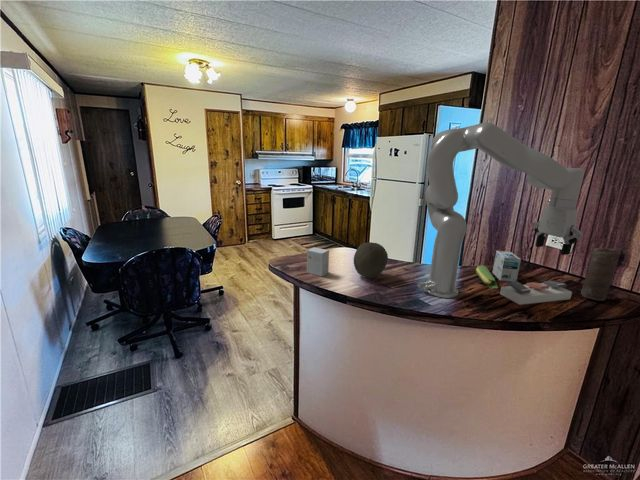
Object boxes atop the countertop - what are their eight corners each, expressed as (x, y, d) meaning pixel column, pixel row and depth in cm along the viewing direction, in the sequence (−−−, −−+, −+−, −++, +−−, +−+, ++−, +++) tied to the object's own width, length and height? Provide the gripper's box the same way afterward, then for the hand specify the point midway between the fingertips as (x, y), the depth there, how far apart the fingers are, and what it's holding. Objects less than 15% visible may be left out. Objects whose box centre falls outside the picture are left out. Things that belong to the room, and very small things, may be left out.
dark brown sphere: (383, 285, 124) (386, 250, 120) (349, 279, 128) (351, 245, 124) (387, 273, 137) (390, 241, 133) (356, 268, 141) (358, 237, 137)
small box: (328, 273, 135) (329, 250, 132) (321, 277, 131) (322, 253, 128) (313, 269, 139) (314, 246, 137) (306, 272, 135) (306, 249, 132)
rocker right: (558, 287, 116) (558, 284, 116) (543, 284, 122) (543, 281, 122) (566, 286, 117) (566, 284, 117) (551, 283, 123) (551, 280, 123)
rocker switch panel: (519, 304, 112) (521, 295, 111) (499, 293, 120) (501, 285, 119) (570, 299, 117) (572, 290, 116) (548, 289, 126) (550, 281, 125)
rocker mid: (540, 289, 114) (540, 286, 114) (526, 285, 120) (526, 282, 120) (548, 288, 115) (549, 285, 115) (534, 284, 121) (534, 282, 121)
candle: (607, 305, 113) (623, 253, 108) (581, 300, 117) (596, 249, 112) (602, 297, 120) (617, 248, 114) (578, 293, 123) (591, 245, 118)
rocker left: (521, 293, 112) (522, 291, 112) (508, 284, 118) (509, 282, 117) (529, 292, 113) (530, 290, 113) (516, 283, 119) (517, 281, 118)
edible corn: (487, 264, 140) (477, 261, 141) (502, 283, 121) (490, 278, 122) (481, 274, 142) (471, 270, 142) (495, 294, 123) (484, 289, 124)
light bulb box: (516, 282, 132) (522, 258, 129) (499, 281, 133) (504, 257, 130) (507, 273, 142) (512, 251, 139) (491, 272, 143) (495, 250, 140)
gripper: (531, 200, 115) (522, 244, 120) (580, 208, 99) (567, 258, 104) (547, 200, 117) (537, 243, 122) (597, 207, 101) (584, 257, 106)
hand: (551, 250), depth 113 cm, fingers open, 9 cm apart
